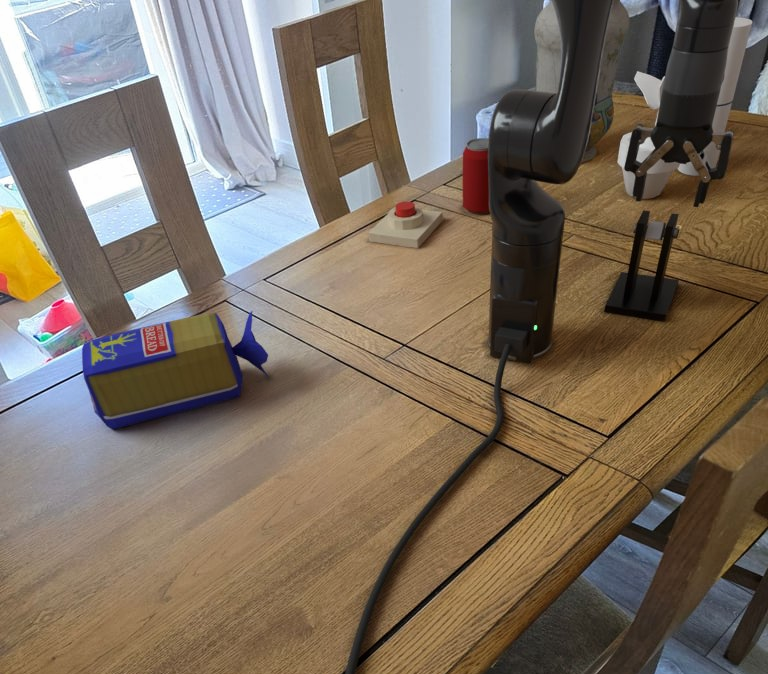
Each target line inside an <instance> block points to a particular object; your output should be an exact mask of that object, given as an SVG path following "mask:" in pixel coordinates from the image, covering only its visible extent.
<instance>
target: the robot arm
mask: <svg viewBox="0 0 768 674" xmlns="http://www.w3.org/2000/svg"><path fill="white" fill-rule="evenodd" d="M551 1H552V4H553V7H554V10H555V14H556V18H557V22H558V27H559V32H560V39H561V68H560V77H559V85H558V90H557V93H550V92H542V91H536V90H533V89H526V88H525V89H523V88H514V89H511V90H508V91H506V92H504V94H503V95H502V96H501V97H500V98H499V100H498V102H497V103H496V105H495V108H494V109H493V113H492V116H491V118H490V123H489V130H488V137H487V138H488V178H489V212H488V213H489V216H490V218H491V219H490V220H491V225H492V226H491V254H490V255H491V257H490V283H489V284H490V285H489V310H488V311H489V312H488V313H489V314H488V336H487V347H488V349H489V357H493V358H497V359H499V362H498V365H497V370H496V374H495V378H494V379H495V380H494V386H493V387H494V388H493V402H494V409H495V413H496V419H495V420H496V421H495V424H494V426H493V428H492V430H491V432H489V435H488V436H487V437H486V438H485V439H484V440H483V441H482V442H481V443H480V444H479V445H478V446H476V448H475V449H474V450H473V451H472V452H471V453H470V454H469V455H468V456H467V457H466V458H465V460H464V461H463V462H462V463H461V464H460V465H459V466H458V467H457V469H456V470H455V471H454V472H453V473H452V474H451V475H450V476H449V478H447V480H446V481H445V482H444V483H443V484H442V485H441V486H440V487H439V488H438V489H437V491H436V492H435V494H434V495H432V497H431V498H430V500H429V501H428V502H427V503H426V504H425V506H423V508H422V509H421V510H420V511H419V513H418V514H417V516H416V517H415V518H414V519H413V521H412V522H411V523H410V525H409V526H408V527H407V529H406V530H405V532H404V533H403V534H402V536H401V538H400V539H399V541H398V542H397V544H396V546H394V548H393V550H392V552H391V553H390V555H389V556H388V558H387V560H386V561H385V563H384V566H383V567H382V569H381V571H380V573H379V575H378V577H377V579H376V581H375V583H374V585H373V588H372V590H371V592H370V594H369V597H368V599H367V600H366V601H367V602H366V604H365V606H364V609H363V611H362V615H361V616H360V620H359V623H358V626H357V630H356V632H355V636H354V640H353V643H352V647H351V650H350V654H349V657H348V661H347V664H346V669H345V673H344V674H356V671H357V666H358V663H359V658H360V654H361V650H362V649H363V648H362V647H363V644H364V641H365V637H366V633H367V630H368V627H369V623H370V621H371V617H372V615H373V613H374V610H375V608H376V604H377V602H378V599H379V597H380V595H381V593H382V590H383V588H384V586H385V583H386V582H387V579H388V577H389V575H390V573H391V571H392V569H393V568H394V566H395V565H396V562H397V560H398V559H399V557H400V556H401V554H402V552H403V551H404V549H405V548H406V547H407V544H408V543H409V541H410V540H411V538H412V537H413V535H414V534H415V533H416V531H417V530H418V528H419V527H420V526H421V524H422V523H423V522H424V520H425V519H426V518H427V516H428V515H429V514H430V513H431V511H433V509H434V508H435V507H436V505H437V504H438V503H439V502H440V501H441V499H442V498H443V497H444V496H445V495H446V493H447V492H448V491H449V490H450V489H451V488H452V486H453V485H454V484H455V483H457V481H458V480H459V479H460V477H462V476H463V474H464V473H465V472H466V471H467V470H468V469H469V467H470V466H471V465H472V464H473V463H474V462H475V460H476V459H478V457H479V456H480V455H482V453H484V452H485V451H486V450H487V449H488V447H490V445H491V444H492V443H493V442H494V441H495V440H496V438H497V437H498V435H499V434H500V433H501V429H502V428H503V424H504V419H505V415H504V409H503V405H502V398H501V393H502V383H503V377H504V372H505V368H506V364H507V361H508V360H509V361H513V362H520V363H525V364H531V363H532V362H533V361H534V360H536V359H540V358H541V357H543V356H545V355H546V354H547V353H549V351H550V350H551V349H552V346H553V330H554V323H555V312H556V304H557V303H556V302H557V294H558V287H559V286H558V285H559V276H560V268H561V258H562V250H563V241H564V231H565V223H566V211H565V209H564V206H563V205H562V204H561V202H559V200H557V199H556V198H555V197H553V196H552V195H550V194H549V193H548V192H547V191H546V190H544V189H543V188H542V187H541V186H540V185H539V184H538V182H540V183H546V184H551V185H565V184H568V183H569V182H571V180H572V179H573V178H574V177H575V175H576V174H577V172H578V171H579V169H580V167H581V164H582V163H581V162H582V159H583V156H584V153H585V150H586V146H587V142H588V137H589V133H590V128H591V122H592V116H593V111H594V104H595V98H596V92H597V85H598V79H599V73H600V67H601V61H602V55H603V49H604V43H605V37H606V32H607V27H608V22H609V18H610V13H611V9H612V4H613V0H551ZM678 5H679V11H678V16H677V22H676V26H675V32H674V37H673V42H672V43H673V44H672V47H671V52H670V54H669V58H668V60H667V65H666V69H665V75H664V76H665V80H664V85H663V90H662V96H661V101H660V107H659V108H658V109H659V112H658V111H657V114H658V118H657V117H656V119H657V123H656V122H655V123H656V126H655V125H654V127H645V126H644V124H642V123H637V124H636V125H635V126H634V128H633V129H632V131H631V132H632V135H631V139H630V144H629V148H628V153H627V157H626V162H625V166H624V169H625V171H627V172H629V171H630V172H632V173H634V174H635V182H634V188H633V197H632V198H634V197H636V198H635V202H641V201H642V200H643V199H642V197H643V192H644V187H645V181H646V176H647V171H648V170H649V169H650V168H651V167H652V166H653V165H654V164H655V163H656V162H657V161H658V160H659V159H660V158H661V159H662V160H663V161H664V163H672V162H677V163H680V164H686V163H688V162H691V163H692V165H693V167H694V169H695V170H696V171H697V172H698V174H699V182H698V186H697V189H696V194H695V198H694V202H693V208H699V206H700V204H704V202H705V201H706V199H707V195H708V191H709V187H710V184H711V182H713V181H714V180H719V181H720V180H723V179H724V178H725V176H726V173H727V170H728V166H729V161H730V156H731V152H732V151H731V150H732V144H733V141H734V136H735V132H734V130H733V129H727V130H725V132H713V129H712V123H713V119H714V115H715V111H716V106H717V102H718V98H719V94H720V90H721V85H722V82H723V80H724V75H725V74H724V73H725V68H726V63H727V54H728V48H729V43H730V39H731V35H732V30H733V26H734V21H735V17H737V12H738V6H739V0H678ZM648 137H650V138H651V141H652V143H653V145H654V147H655V149H654V150H653V151H652V152H651V153H650V154H649V156H648V157H647V158H646V159H645V160H644V161H643V162H642V163H641V162H638V161H636V158H637V154H638V150H639V146H640V144H643V143H644V142H645V140H646V138H648ZM711 141H713V142H714V143H715V144H716V149H717V150H720V152H719V156H718V160H717V165H716V168H711V166H710V164H709V162H708V160H707V156H706V154H705V152H704V149H705V148H706V147H707V146H708V145H709V144H710V143H711Z"/></svg>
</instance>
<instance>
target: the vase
mask: <svg viewBox="0 0 768 674" xmlns="http://www.w3.org/2000/svg"><path fill="white" fill-rule="evenodd" d="M536 17H537V18H536V20H535V25H534V31H533V32H534V33H533V34H534V40H535V43H536V48H537V51H536V52H537V54H536V55H537V56H536V76H535V77H536V78H535V91H542V92H550V93H557V90H558V85H559V77H560V68H561V39H560V32H559V27H558V22H557V18H556V14H555V10H554V7H553V4H552V1H551V0H549V2H548V3H547V5H545V6H544V8H542V10H541V11H540V12H539V14H538V15H537V16H536ZM629 29H630V15H629V11H628V10H627V8H626V7H625V5H624V4H623V3H622V1H621V0H613V4H612V9H611V13H610V18H609V22H608V27H607V32H606V37H605V43H604V49H603V55H602V61H601V67H600V73H599V79H598V85H597V92H596V98H595V104H594V111H593V116H592V122H591V128H590V133H589V137H588V142H587V146H586V150H585V153H584V156H583V159H582V162H581V164H583V163H586V162H588V161H590V160H592V159H594V158H595V157H596V155H597V149H596V147H595V145H596V144H598V143H599V142H600V141H601V140H602V139H603V138H604V137H605V135H607V133H608V132H609V130H610V128H611V126H612V124H613V122H614V115H615V107H614V101H613V92H614V84H615V80H616V79H615V78H616V75H617V74H616V73H617V68H618V65H619V64H618V63H619V57H620V53H621V52H620V51H621V48H622V46H623V45H622V44H623V43H625V40H626V38H627V37H628V36H627V35H628V33H629Z"/></svg>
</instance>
